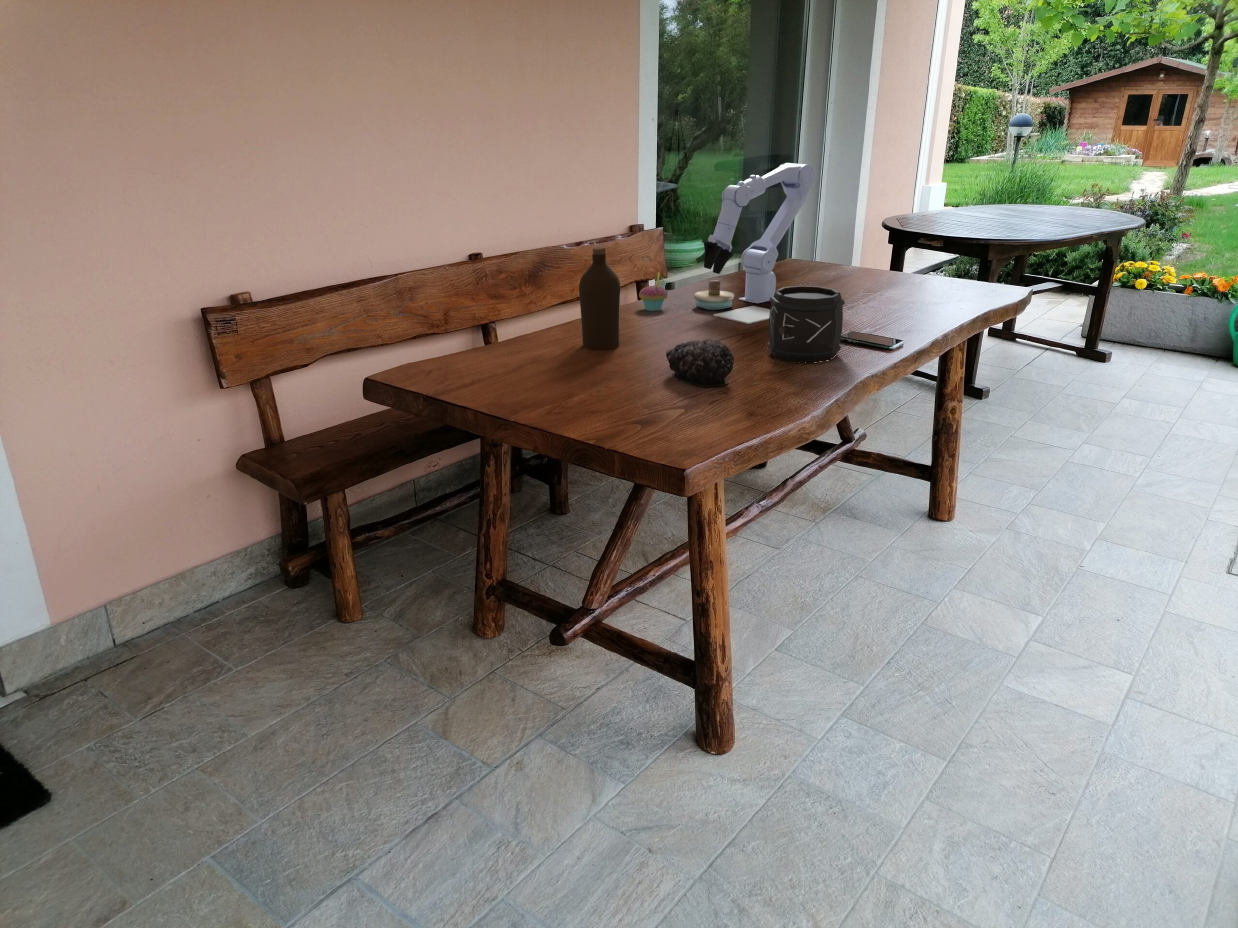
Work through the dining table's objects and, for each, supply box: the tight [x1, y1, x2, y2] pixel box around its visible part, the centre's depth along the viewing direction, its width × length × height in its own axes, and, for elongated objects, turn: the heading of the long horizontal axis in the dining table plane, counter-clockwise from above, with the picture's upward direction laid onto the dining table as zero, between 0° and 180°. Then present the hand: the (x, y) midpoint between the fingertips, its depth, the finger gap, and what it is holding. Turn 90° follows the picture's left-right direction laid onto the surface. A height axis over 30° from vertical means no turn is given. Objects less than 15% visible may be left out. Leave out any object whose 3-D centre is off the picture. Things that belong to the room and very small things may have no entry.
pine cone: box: [665, 338, 735, 388], centre depth 201 cm, size 10×18×10 cm, turn 51°
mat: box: [712, 305, 771, 325], centre depth 260 cm, size 17×14×1 cm
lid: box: [693, 279, 735, 302], centre depth 268 cm, size 12×12×5 cm
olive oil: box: [578, 246, 622, 351], centre depth 226 cm, size 11×11×25 cm
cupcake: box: [638, 269, 668, 312], centre depth 267 cm, size 9×8×12 cm
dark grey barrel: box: [766, 285, 845, 364], centre depth 217 cm, size 18×18×16 cm
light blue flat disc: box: [695, 299, 733, 311], centre depth 270 cm, size 11×11×3 cm
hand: (711, 270), depth 265 cm, fingers open, 7 cm apart
